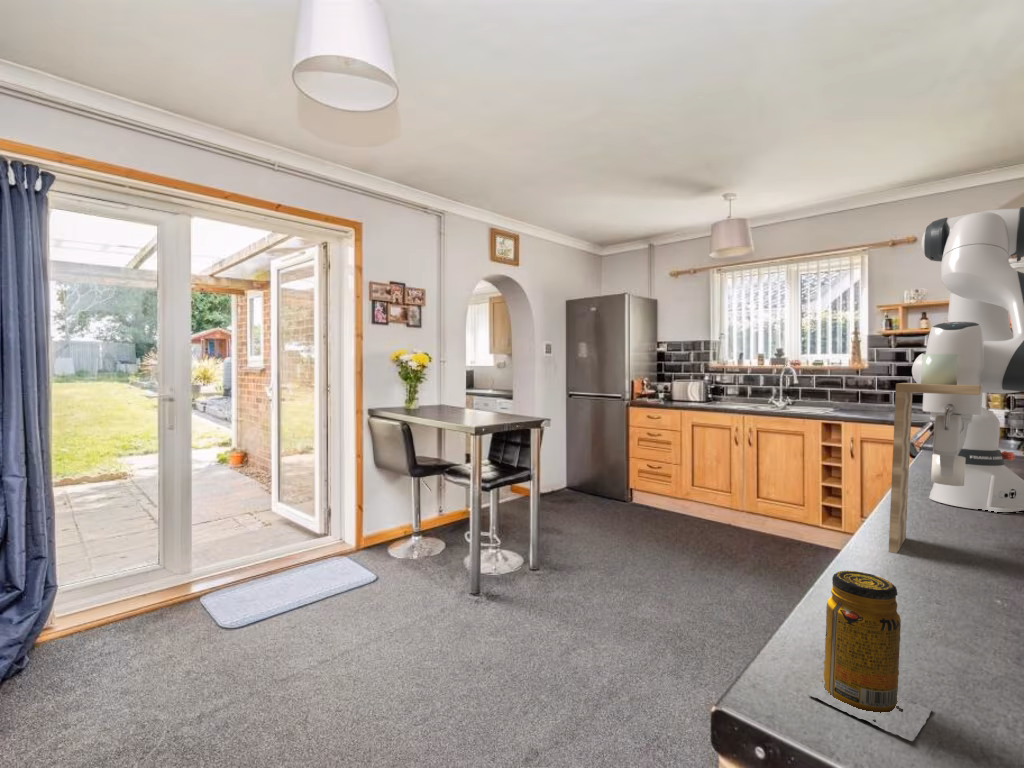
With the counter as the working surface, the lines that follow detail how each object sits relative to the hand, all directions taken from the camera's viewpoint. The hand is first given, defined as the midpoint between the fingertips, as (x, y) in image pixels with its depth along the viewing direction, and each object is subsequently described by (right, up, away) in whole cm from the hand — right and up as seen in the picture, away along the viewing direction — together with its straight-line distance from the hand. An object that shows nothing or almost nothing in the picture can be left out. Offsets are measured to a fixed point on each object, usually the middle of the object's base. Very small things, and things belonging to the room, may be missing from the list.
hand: (947, 474), depth 101 cm
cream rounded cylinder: (0, -2, 0) cm, 2 cm away
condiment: (-51, -14, -51) cm, 74 cm away
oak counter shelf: (-10, -13, -8) cm, 18 cm away
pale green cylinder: (-9, +18, -9) cm, 22 cm away
